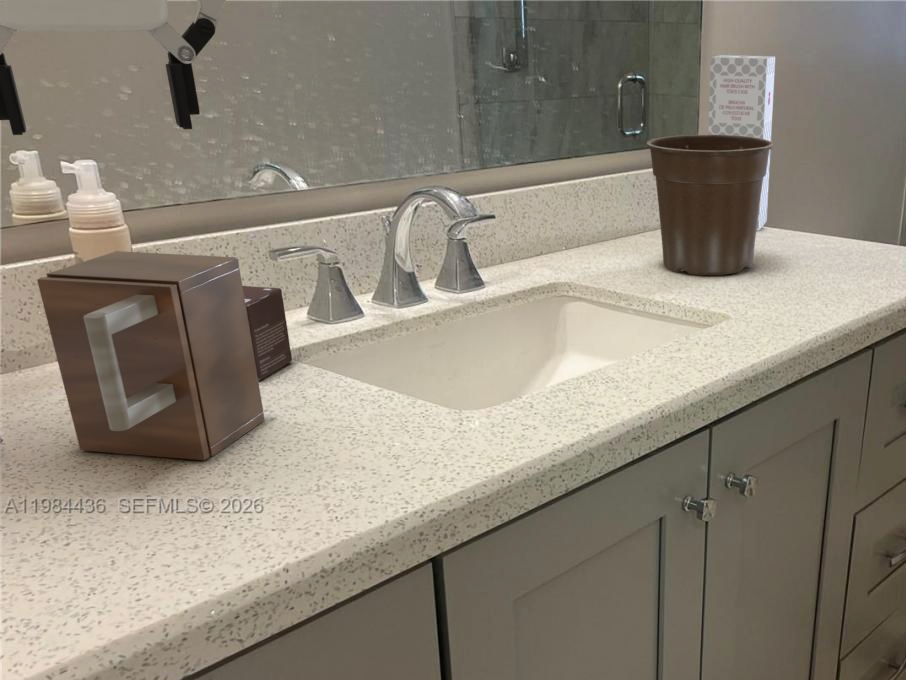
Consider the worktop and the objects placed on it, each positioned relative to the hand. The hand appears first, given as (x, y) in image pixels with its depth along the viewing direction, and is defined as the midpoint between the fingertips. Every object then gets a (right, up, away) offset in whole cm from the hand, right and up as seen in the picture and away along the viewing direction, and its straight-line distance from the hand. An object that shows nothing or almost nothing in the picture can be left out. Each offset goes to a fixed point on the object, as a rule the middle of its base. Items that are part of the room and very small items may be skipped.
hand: (104, 129), depth 68 cm
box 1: (-3, -12, +31) cm, 33 cm away
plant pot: (+42, +8, +73) cm, 85 cm away
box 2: (+47, +21, +101) cm, 113 cm away
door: (-4, -22, +9) cm, 24 cm away
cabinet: (-3, -19, +16) cm, 25 cm away
